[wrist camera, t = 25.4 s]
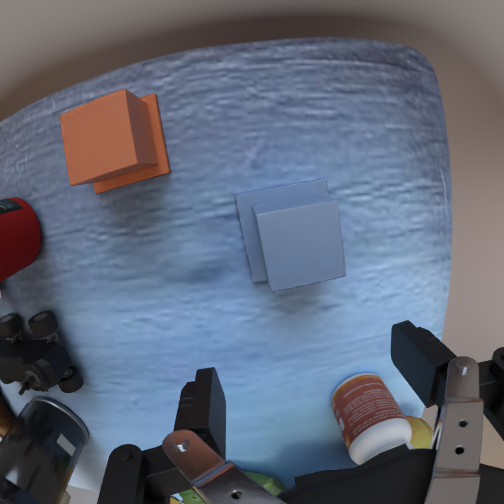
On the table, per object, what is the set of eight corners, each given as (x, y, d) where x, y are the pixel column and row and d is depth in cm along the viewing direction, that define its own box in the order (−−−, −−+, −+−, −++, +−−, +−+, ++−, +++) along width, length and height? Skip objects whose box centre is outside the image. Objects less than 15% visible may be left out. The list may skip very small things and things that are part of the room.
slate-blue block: (264, 267, 24) (270, 293, 19) (251, 205, 22) (255, 214, 17) (325, 255, 24) (346, 276, 19) (316, 193, 22) (337, 199, 17)
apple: (336, 459, 29) (366, 503, 22) (383, 402, 28) (425, 444, 21) (380, 456, 33) (409, 490, 25) (421, 406, 32) (457, 438, 24)
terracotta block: (101, 181, 21) (70, 186, 16) (91, 123, 20) (59, 115, 15) (159, 164, 21) (137, 163, 16) (147, 103, 20) (125, 88, 15)
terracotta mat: (98, 193, 22) (95, 194, 21) (85, 120, 20) (82, 119, 20) (171, 172, 22) (169, 172, 21) (156, 94, 20) (154, 93, 20)
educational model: (176, 452, 30) (171, 487, 24) (303, 458, 31) (310, 492, 26) (179, 490, 34) (176, 518, 28) (282, 495, 35) (286, 522, 30)
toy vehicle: (92, 374, 27) (59, 430, 18) (8, 371, 27) (-25, 409, 18) (62, 306, 24) (13, 353, 16) (-18, 315, 24) (-60, 347, 16)
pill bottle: (318, 395, 28) (346, 478, 18) (366, 360, 27) (412, 437, 17) (347, 418, 30) (375, 491, 19) (390, 387, 29) (432, 456, 18)
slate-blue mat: (252, 280, 24) (253, 282, 24) (235, 194, 23) (235, 195, 22) (335, 263, 24) (337, 265, 24) (323, 178, 22) (326, 178, 22)
